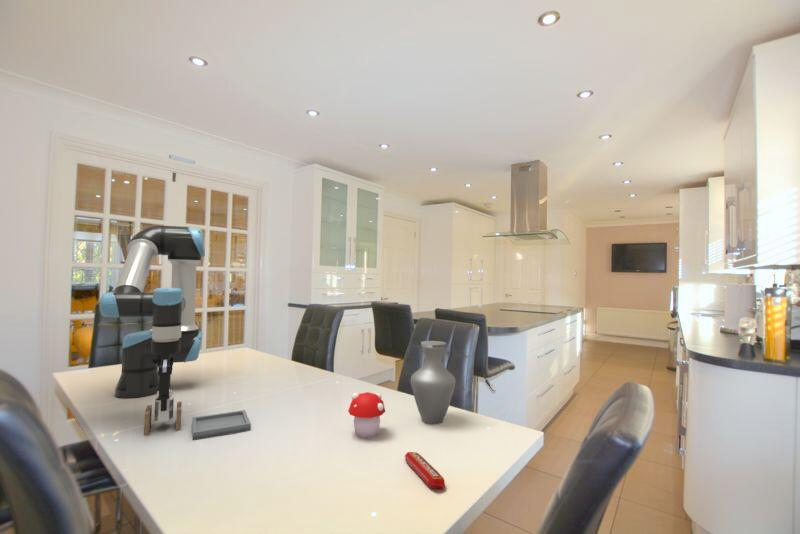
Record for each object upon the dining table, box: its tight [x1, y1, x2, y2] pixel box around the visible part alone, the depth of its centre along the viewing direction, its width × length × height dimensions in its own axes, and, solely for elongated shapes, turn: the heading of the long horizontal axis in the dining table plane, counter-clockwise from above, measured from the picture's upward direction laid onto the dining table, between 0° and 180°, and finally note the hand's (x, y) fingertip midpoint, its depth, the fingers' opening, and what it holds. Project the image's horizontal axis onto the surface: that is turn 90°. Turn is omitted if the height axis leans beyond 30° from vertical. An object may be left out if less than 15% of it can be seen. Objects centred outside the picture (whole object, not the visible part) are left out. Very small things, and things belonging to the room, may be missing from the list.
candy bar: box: [404, 451, 446, 490], centre depth 89 cm, size 16×4×3 cm, turn 23°
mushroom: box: [347, 391, 386, 439], centre depth 111 cm, size 11×11×12 cm
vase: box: [410, 340, 457, 425], centre depth 123 cm, size 14×14×25 cm
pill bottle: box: [153, 388, 175, 423], centre depth 114 cm, size 5×5×8 cm
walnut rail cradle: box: [143, 401, 183, 436], centre depth 113 cm, size 8×9×6 cm
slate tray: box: [191, 409, 252, 441], centre depth 114 cm, size 13×15×2 cm
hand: (163, 417), depth 114 cm, fingers closed on pill bottle, 5 cm apart
